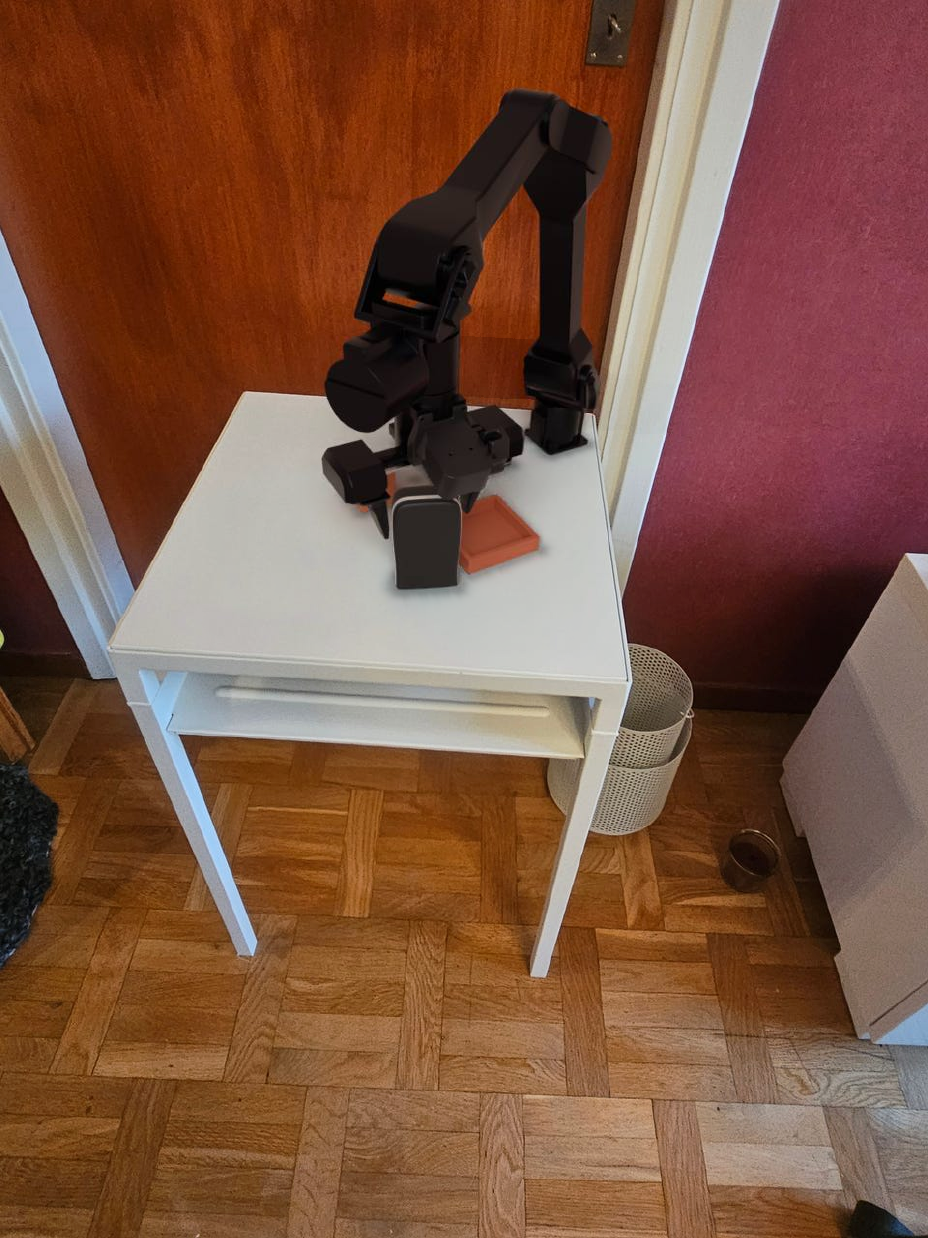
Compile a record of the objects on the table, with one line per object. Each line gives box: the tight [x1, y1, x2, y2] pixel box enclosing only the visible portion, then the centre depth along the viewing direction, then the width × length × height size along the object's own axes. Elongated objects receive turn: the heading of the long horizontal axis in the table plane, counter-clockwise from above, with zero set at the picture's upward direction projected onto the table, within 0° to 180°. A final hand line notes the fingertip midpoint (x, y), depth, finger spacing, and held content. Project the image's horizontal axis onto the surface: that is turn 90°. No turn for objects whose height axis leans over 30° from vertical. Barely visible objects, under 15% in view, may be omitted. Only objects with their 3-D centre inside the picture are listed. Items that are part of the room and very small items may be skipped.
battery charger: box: [391, 484, 462, 590], centre depth 76 cm, size 7×4×11 cm, turn 98°
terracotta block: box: [355, 472, 397, 514], centre depth 89 cm, size 4×4×4 cm
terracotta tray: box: [458, 493, 541, 575], centre depth 85 cm, size 9×9×2 cm
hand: (426, 523), depth 75 cm, fingers open, 9 cm apart
